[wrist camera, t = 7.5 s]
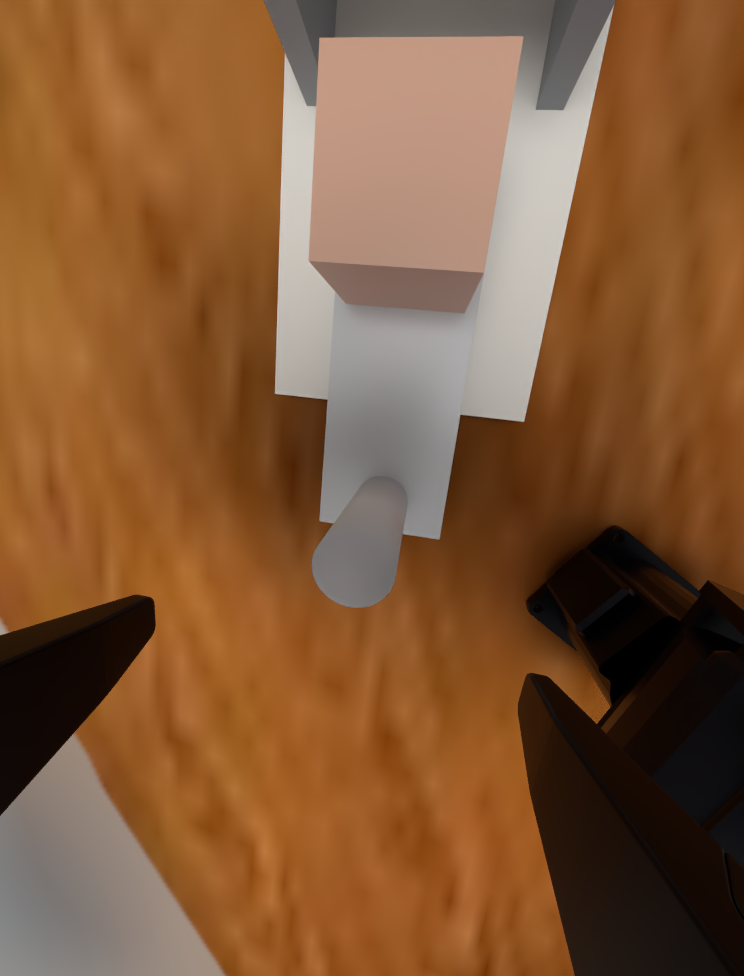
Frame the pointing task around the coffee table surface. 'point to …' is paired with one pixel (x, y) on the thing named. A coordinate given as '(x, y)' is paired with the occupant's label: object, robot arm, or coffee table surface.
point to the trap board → (517, 217)
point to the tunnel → (574, 31)
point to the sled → (400, 280)
